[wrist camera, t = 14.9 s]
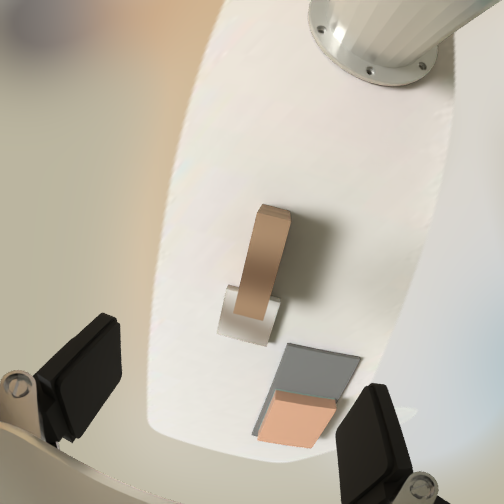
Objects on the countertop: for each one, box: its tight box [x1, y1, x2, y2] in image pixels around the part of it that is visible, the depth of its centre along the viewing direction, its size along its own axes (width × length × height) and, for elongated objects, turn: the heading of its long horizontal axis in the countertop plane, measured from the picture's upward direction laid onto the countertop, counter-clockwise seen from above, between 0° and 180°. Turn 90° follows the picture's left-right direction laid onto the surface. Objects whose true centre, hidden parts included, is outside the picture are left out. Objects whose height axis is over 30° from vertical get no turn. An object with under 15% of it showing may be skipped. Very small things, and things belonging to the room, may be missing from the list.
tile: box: [257, 389, 336, 448], centre depth 30 cm, size 2×7×8 cm
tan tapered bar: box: [217, 204, 291, 347], centre depth 24 cm, size 13×5×5 cm, turn 167°
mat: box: [252, 343, 360, 436], centre depth 30 cm, size 16×8×1 cm, turn 167°
